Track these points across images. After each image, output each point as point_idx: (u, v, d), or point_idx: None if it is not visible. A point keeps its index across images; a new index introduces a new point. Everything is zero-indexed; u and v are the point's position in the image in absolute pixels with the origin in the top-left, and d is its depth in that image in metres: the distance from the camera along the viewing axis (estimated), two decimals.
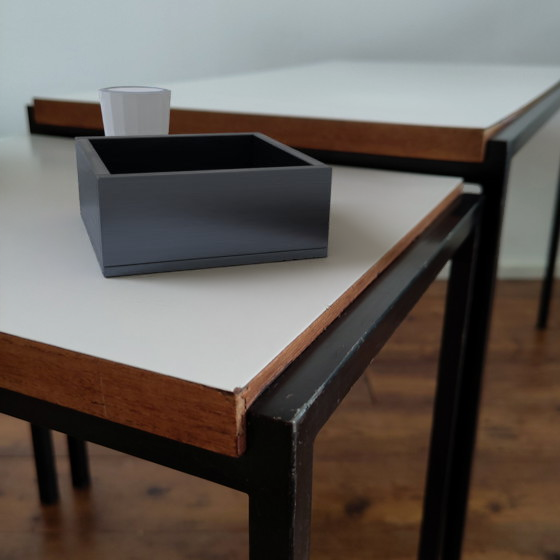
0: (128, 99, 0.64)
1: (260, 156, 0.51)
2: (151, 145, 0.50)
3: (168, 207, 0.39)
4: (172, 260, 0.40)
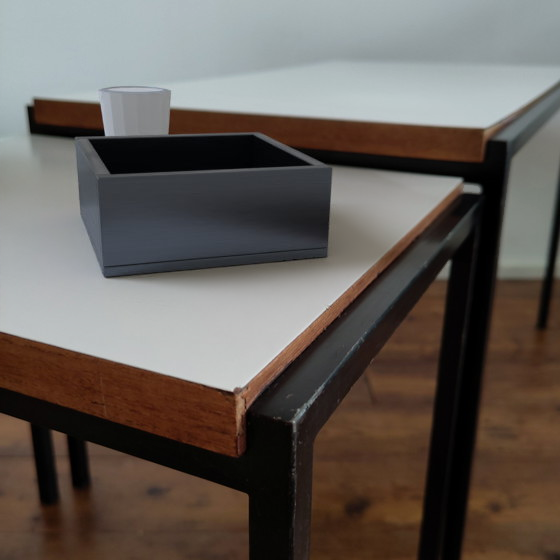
0: (128, 99, 0.64)
1: (260, 156, 0.51)
2: (151, 145, 0.50)
3: (168, 207, 0.39)
4: (172, 260, 0.40)
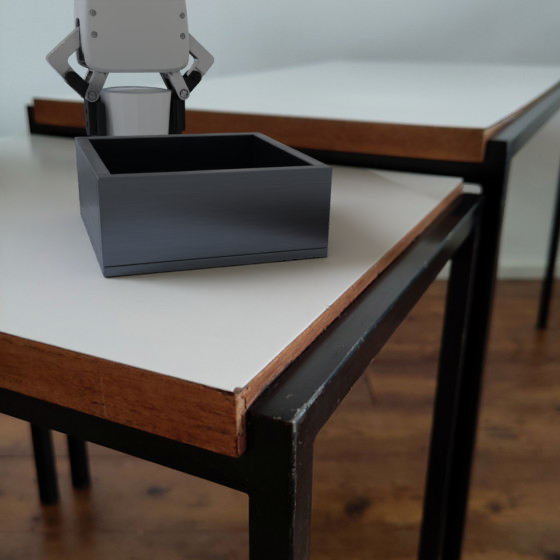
0: (128, 99, 0.64)
1: (260, 156, 0.51)
2: (151, 145, 0.50)
3: (168, 207, 0.39)
4: (172, 260, 0.40)
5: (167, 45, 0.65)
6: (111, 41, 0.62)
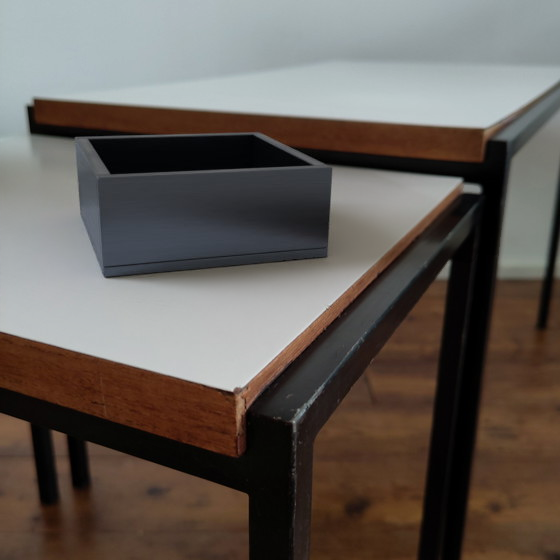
0: None
1: (260, 156, 0.51)
2: (151, 145, 0.50)
3: (168, 207, 0.39)
4: (172, 260, 0.40)
5: None
6: None
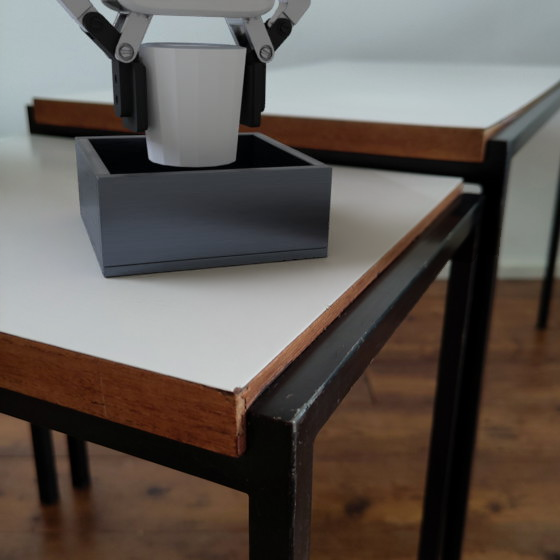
0: (184, 58, 0.40)
1: (260, 156, 0.51)
2: None
3: (168, 207, 0.39)
4: (172, 260, 0.40)
5: None
6: None
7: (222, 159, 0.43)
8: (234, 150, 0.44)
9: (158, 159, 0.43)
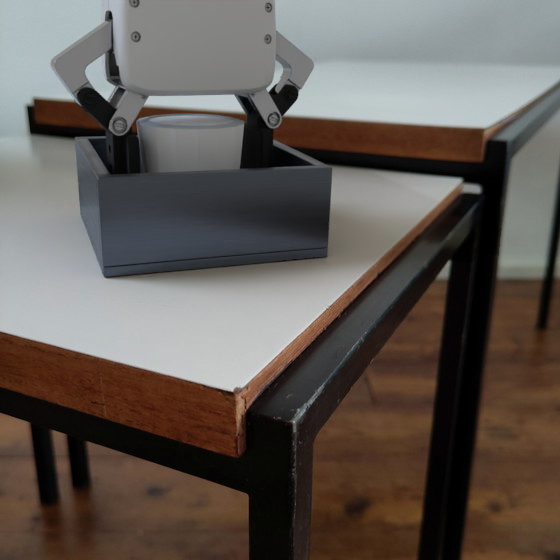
0: (184, 137, 0.41)
1: None
2: None
3: (168, 207, 0.39)
4: (172, 260, 0.40)
5: (245, 53, 0.42)
6: (162, 47, 0.40)
7: None
8: None
9: None
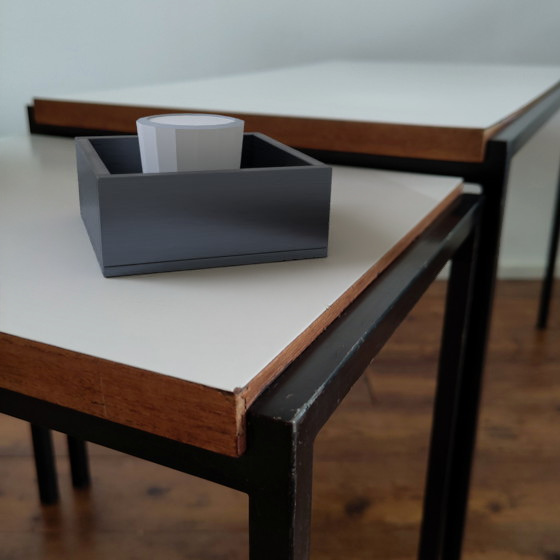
0: (184, 137, 0.41)
1: (260, 156, 0.51)
2: None
3: (168, 207, 0.39)
4: (172, 260, 0.40)
5: None
6: None
7: None
8: None
9: None
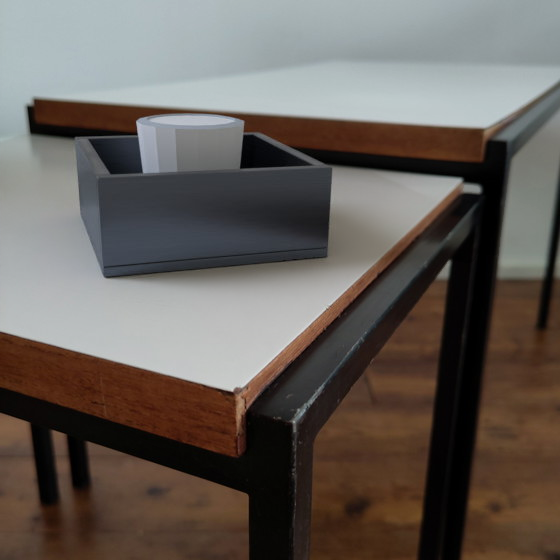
0: (184, 137, 0.41)
1: (260, 156, 0.51)
2: None
3: (168, 207, 0.39)
4: (172, 260, 0.40)
5: None
6: None
7: None
8: None
9: None
